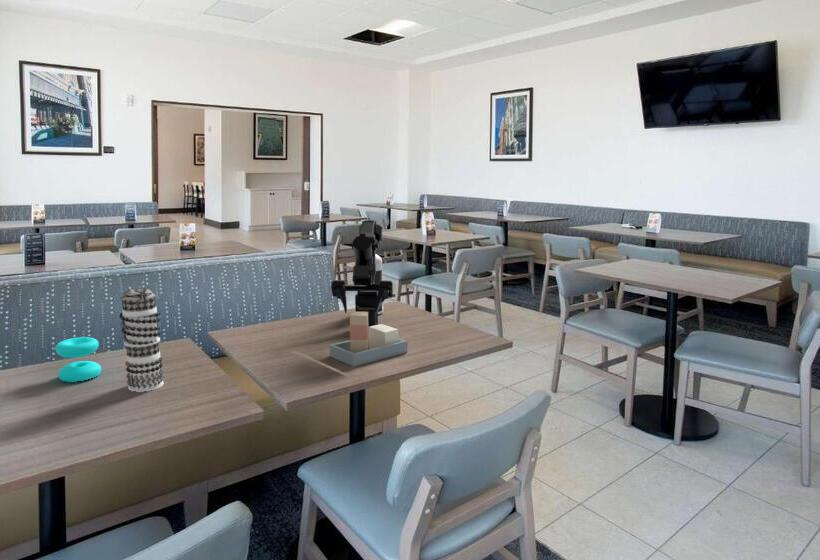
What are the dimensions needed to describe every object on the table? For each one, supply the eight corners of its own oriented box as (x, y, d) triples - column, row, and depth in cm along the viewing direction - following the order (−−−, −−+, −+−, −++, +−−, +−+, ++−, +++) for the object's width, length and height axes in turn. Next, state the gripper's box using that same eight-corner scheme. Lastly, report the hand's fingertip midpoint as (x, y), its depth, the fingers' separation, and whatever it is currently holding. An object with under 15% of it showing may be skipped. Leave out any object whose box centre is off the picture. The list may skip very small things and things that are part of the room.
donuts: (54, 339, 154) (96, 333, 160) (58, 375, 156) (99, 368, 161) (55, 349, 146) (100, 342, 151) (59, 386, 148) (103, 379, 153)
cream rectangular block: (381, 345, 181) (381, 324, 180) (398, 351, 175) (398, 329, 174) (368, 348, 178) (368, 326, 177) (385, 355, 172) (385, 332, 171)
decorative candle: (151, 393, 143) (143, 295, 139) (118, 391, 145) (108, 293, 140) (172, 380, 152) (165, 287, 148) (140, 378, 154) (132, 286, 149)
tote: (382, 344, 184) (382, 332, 183) (407, 353, 175) (407, 341, 175) (329, 358, 171) (329, 345, 170) (353, 368, 162) (353, 354, 162)
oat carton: (352, 353, 173) (351, 311, 171) (368, 353, 173) (368, 311, 171) (350, 359, 168) (349, 315, 166) (367, 359, 168) (366, 315, 166)
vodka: (383, 315, 221) (383, 237, 215) (359, 315, 220) (358, 237, 215) (383, 309, 230) (383, 234, 224) (360, 310, 229) (359, 234, 224)
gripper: (331, 254, 176) (326, 298, 168) (392, 254, 176) (391, 298, 168) (335, 274, 186) (331, 317, 177) (393, 275, 186) (392, 317, 177)
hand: (360, 312), depth 175 cm, fingers open, 9 cm apart
